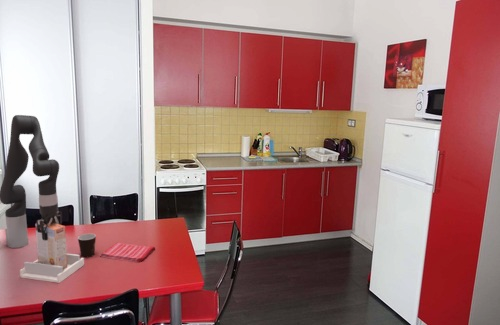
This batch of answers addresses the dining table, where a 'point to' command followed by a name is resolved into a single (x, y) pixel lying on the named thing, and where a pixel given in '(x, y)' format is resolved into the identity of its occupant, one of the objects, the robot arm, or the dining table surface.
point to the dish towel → (127, 252)
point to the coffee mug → (87, 244)
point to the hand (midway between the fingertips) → (50, 236)
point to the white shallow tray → (51, 269)
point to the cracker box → (52, 246)
